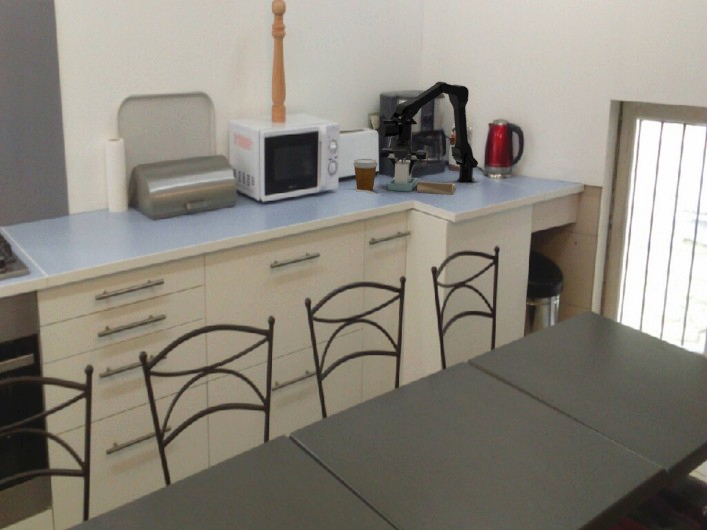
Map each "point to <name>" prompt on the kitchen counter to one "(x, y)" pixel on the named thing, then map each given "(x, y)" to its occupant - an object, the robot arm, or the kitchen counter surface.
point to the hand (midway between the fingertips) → (403, 174)
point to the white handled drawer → (402, 172)
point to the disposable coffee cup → (365, 173)
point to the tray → (402, 185)
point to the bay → (435, 187)
